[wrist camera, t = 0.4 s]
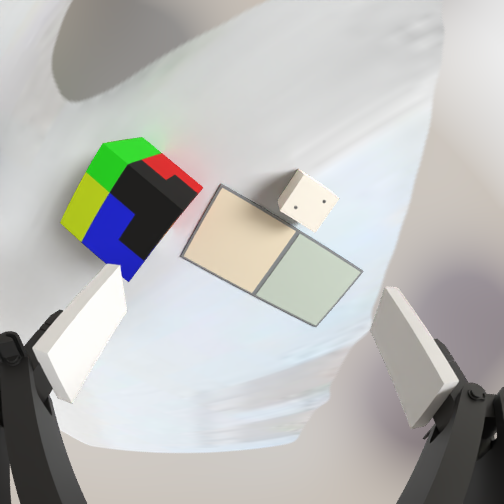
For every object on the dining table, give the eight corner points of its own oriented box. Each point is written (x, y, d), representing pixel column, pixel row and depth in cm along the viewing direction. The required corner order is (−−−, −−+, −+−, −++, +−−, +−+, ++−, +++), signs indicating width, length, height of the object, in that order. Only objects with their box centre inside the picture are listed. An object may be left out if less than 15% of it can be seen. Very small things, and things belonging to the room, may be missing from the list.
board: (181, 255, 38) (180, 256, 38) (221, 183, 34) (221, 184, 34) (315, 326, 42) (316, 327, 42) (362, 270, 38) (363, 271, 38)
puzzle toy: (157, 244, 37) (128, 282, 28) (102, 198, 35) (60, 222, 26) (203, 187, 34) (183, 210, 25) (142, 137, 32) (102, 143, 22)
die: (277, 200, 35) (279, 211, 30) (298, 168, 33) (304, 174, 29) (308, 220, 36) (314, 233, 31) (329, 189, 34) (339, 198, 30)
